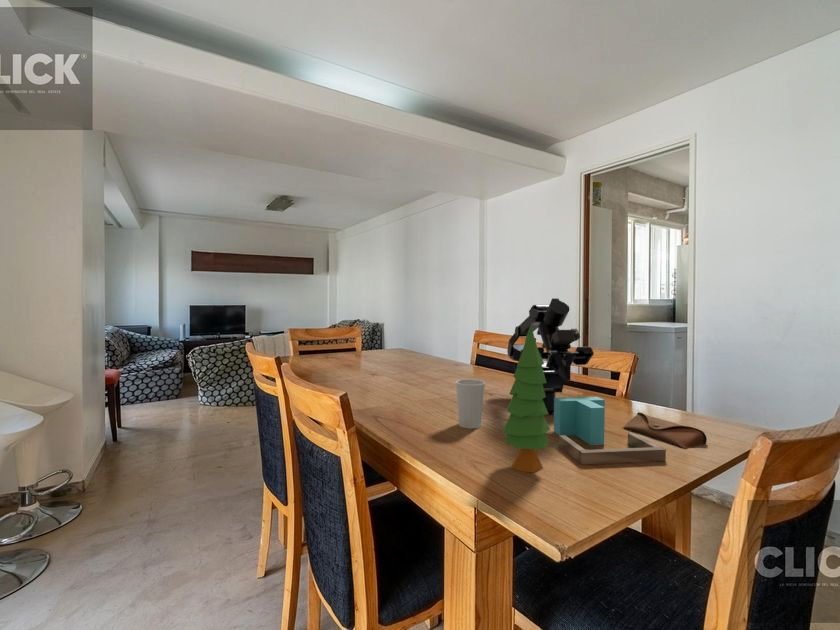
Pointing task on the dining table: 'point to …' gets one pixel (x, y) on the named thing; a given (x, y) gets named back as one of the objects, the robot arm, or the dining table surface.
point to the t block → (580, 418)
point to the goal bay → (615, 451)
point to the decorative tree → (527, 408)
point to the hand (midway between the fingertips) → (568, 380)
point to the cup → (470, 402)
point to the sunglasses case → (666, 431)
